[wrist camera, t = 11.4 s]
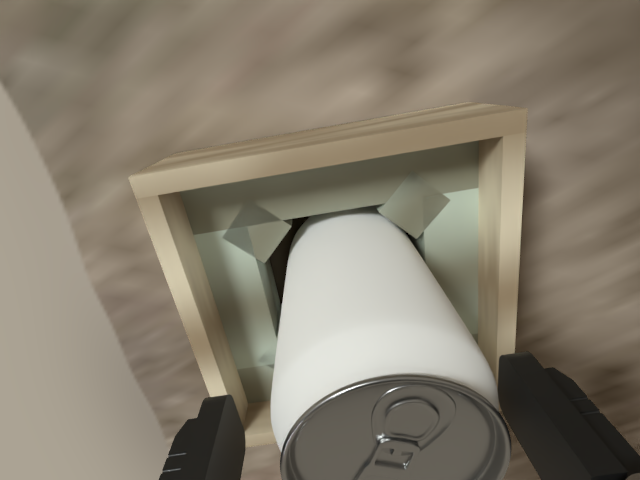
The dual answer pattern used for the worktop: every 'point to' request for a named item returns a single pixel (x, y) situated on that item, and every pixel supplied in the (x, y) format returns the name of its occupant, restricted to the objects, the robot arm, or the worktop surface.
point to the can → (378, 363)
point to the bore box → (330, 196)
